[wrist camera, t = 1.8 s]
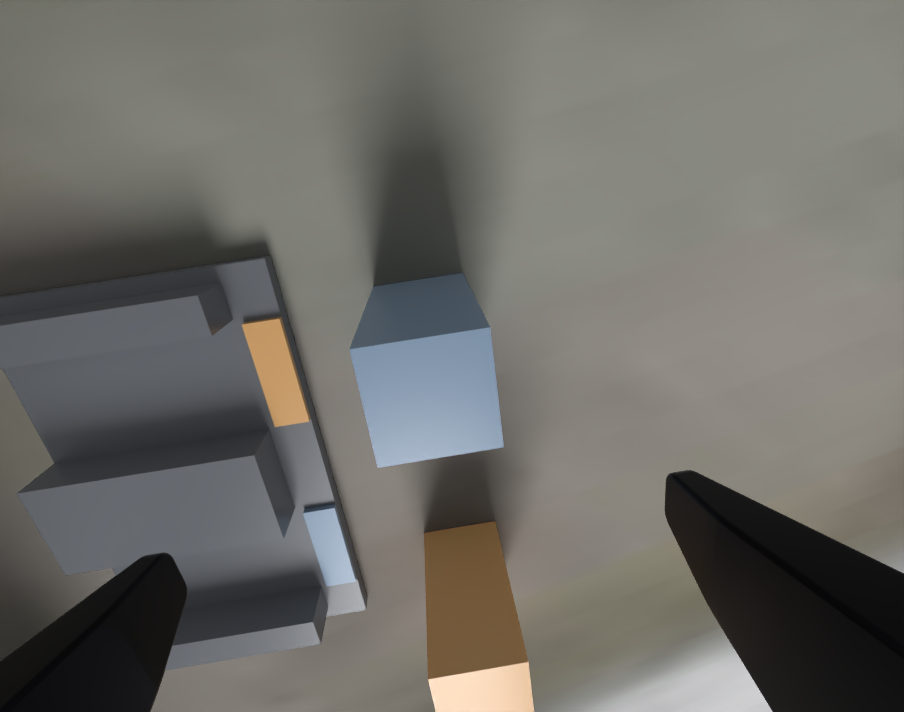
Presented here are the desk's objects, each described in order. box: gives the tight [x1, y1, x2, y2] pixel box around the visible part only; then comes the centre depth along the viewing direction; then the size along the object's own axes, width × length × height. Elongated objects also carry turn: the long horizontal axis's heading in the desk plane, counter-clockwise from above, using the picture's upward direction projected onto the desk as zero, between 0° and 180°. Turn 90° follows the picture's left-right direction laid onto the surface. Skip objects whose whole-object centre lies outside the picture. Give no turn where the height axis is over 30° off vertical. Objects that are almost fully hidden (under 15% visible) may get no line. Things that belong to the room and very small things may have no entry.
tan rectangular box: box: [424, 521, 534, 712], centre depth 23 cm, size 4×4×8 cm
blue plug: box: [349, 273, 504, 468], centre depth 17 cm, size 4×4×8 cm
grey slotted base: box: [0, 255, 367, 670], centre depth 22 cm, size 20×12×3 cm, turn 8°
